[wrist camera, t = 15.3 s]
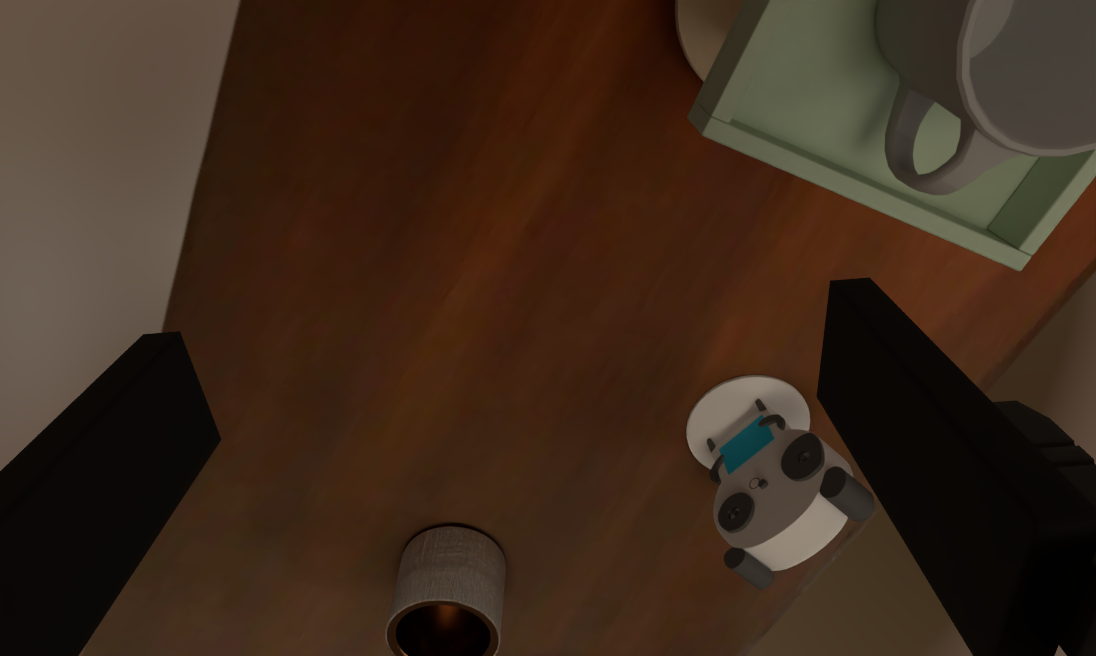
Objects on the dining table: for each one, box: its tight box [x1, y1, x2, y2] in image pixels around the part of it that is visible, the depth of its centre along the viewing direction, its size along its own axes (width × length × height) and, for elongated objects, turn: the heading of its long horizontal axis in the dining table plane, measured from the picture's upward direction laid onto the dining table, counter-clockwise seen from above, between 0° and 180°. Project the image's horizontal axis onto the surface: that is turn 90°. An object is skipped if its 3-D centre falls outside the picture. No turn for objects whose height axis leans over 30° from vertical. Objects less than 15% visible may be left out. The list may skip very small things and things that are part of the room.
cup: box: [876, 0, 1096, 195], centre depth 24 cm, size 8×10×8 cm
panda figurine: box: [686, 375, 874, 589], centre depth 59 cm, size 12×11×15 cm
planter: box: [385, 526, 506, 656], centre depth 69 cm, size 11×11×10 cm
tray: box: [675, 0, 1096, 271], centre depth 37 cm, size 16×14×25 cm
